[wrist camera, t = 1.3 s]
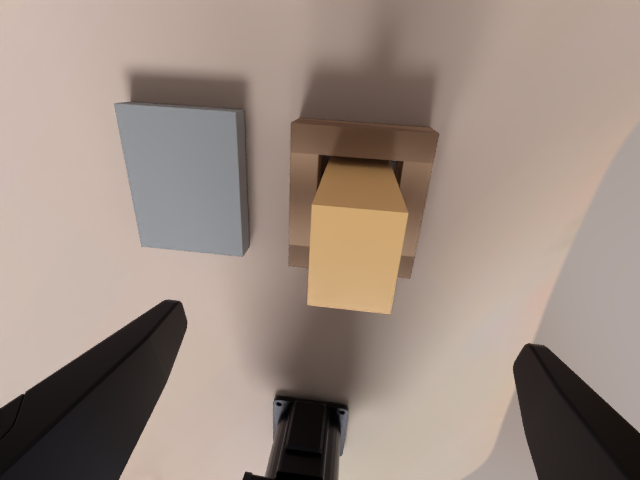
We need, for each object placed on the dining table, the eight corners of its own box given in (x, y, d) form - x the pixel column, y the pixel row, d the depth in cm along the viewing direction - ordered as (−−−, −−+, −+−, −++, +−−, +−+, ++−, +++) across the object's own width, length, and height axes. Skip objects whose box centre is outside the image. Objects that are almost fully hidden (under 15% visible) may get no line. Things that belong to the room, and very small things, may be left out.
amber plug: (379, 228, 22) (390, 314, 14) (326, 223, 22) (307, 305, 14) (389, 159, 20) (408, 213, 12) (330, 155, 21) (311, 204, 12)
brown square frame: (405, 259, 23) (410, 278, 21) (295, 248, 23) (288, 265, 21) (429, 127, 19) (439, 133, 17) (298, 118, 20) (291, 123, 18)
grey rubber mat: (249, 246, 24) (242, 256, 22) (153, 237, 24) (141, 246, 23) (244, 109, 20) (235, 112, 19) (130, 101, 20) (113, 103, 19)
